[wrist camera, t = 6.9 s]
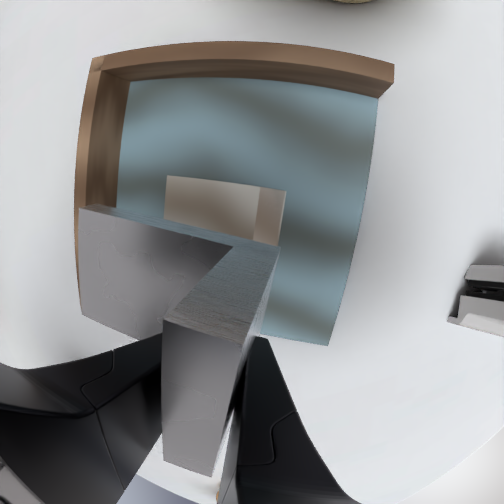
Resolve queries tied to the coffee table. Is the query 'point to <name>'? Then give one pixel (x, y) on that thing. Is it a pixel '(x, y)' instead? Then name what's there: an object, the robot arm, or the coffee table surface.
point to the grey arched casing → (483, 300)
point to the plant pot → (353, 1)
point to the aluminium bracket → (179, 314)
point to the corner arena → (241, 156)
